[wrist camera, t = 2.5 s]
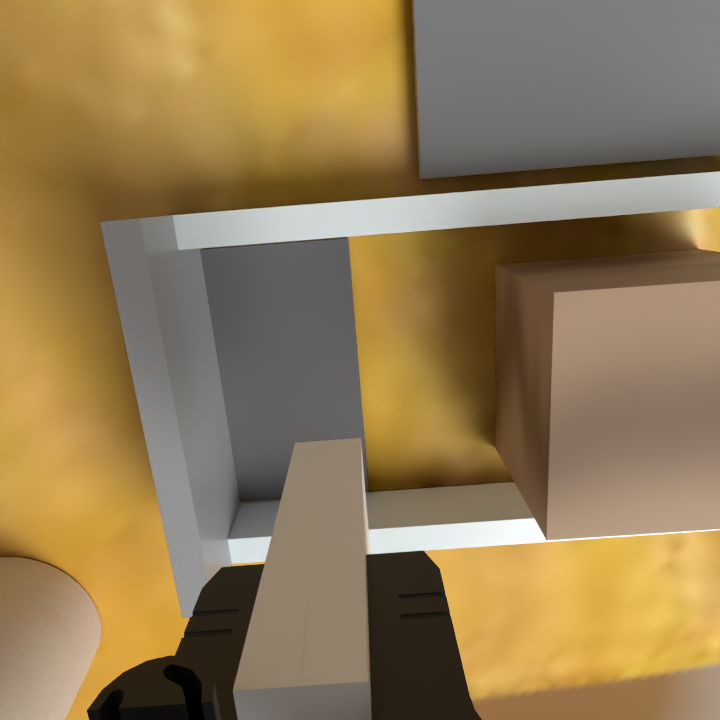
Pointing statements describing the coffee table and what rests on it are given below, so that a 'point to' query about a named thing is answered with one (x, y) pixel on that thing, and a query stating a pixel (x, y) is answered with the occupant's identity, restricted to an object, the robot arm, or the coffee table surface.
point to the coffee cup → (43, 639)
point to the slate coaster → (563, 83)
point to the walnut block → (611, 391)
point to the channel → (301, 360)
